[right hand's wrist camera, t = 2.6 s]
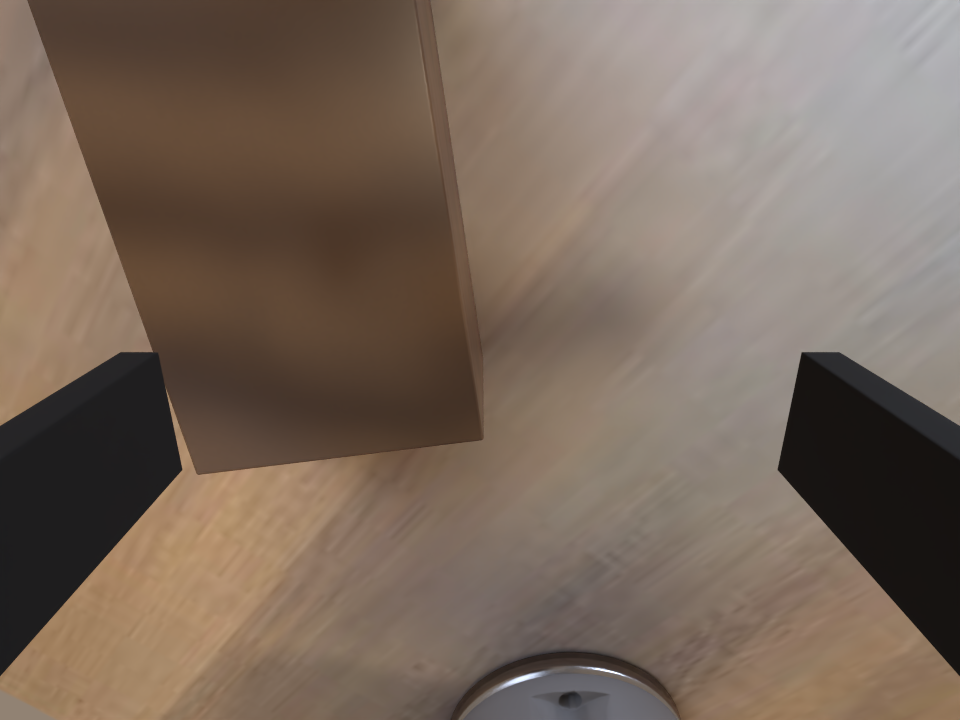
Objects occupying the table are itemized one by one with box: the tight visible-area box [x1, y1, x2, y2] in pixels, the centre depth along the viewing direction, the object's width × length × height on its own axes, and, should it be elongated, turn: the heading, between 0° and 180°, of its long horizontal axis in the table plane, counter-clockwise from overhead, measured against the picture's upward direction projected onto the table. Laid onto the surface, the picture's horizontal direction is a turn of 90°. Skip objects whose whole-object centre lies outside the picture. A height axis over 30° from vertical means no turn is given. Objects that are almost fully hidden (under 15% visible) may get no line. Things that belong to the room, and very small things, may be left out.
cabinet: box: [28, 0, 484, 475], centre depth 23 cm, size 18×11×8 cm, turn 8°
